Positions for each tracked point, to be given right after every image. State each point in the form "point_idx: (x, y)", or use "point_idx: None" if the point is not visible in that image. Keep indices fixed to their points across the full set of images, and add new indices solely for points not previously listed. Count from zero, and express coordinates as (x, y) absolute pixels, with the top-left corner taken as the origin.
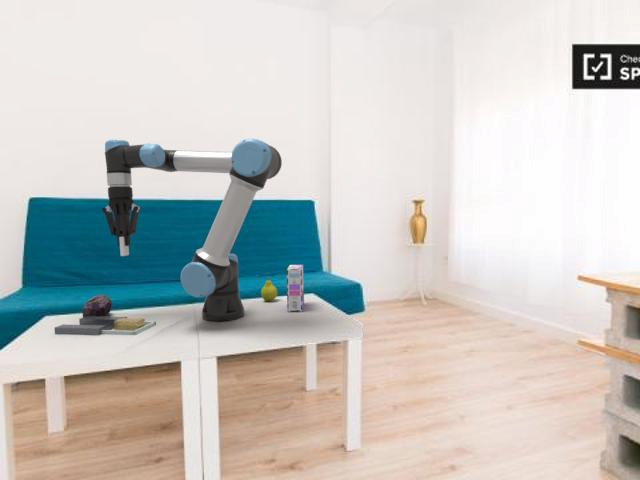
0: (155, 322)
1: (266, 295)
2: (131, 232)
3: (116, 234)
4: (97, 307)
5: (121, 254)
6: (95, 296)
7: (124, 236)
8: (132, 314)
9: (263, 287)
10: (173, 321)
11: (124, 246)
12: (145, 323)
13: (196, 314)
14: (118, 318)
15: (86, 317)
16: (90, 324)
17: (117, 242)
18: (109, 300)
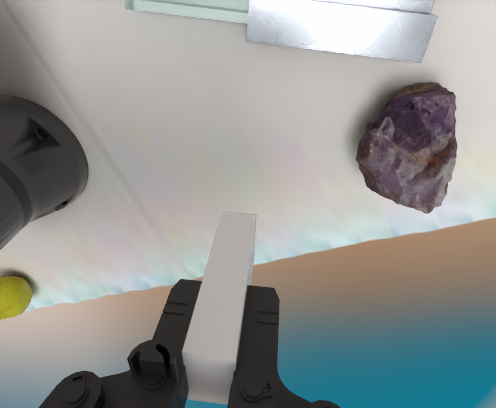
0: (126, 5)
1: (3, 281)
2: (54, 394)
3: (271, 401)
4: (395, 114)
5: (246, 220)
6: (437, 197)
7: (150, 341)
8: (311, 195)
9: (5, 306)
10: (138, 105)
11: (207, 269)
12: (162, 2)
13: (118, 179)
14: (268, 16)
15: (413, 38)
16: (381, 7)
17: (278, 317)
18: (370, 175)
